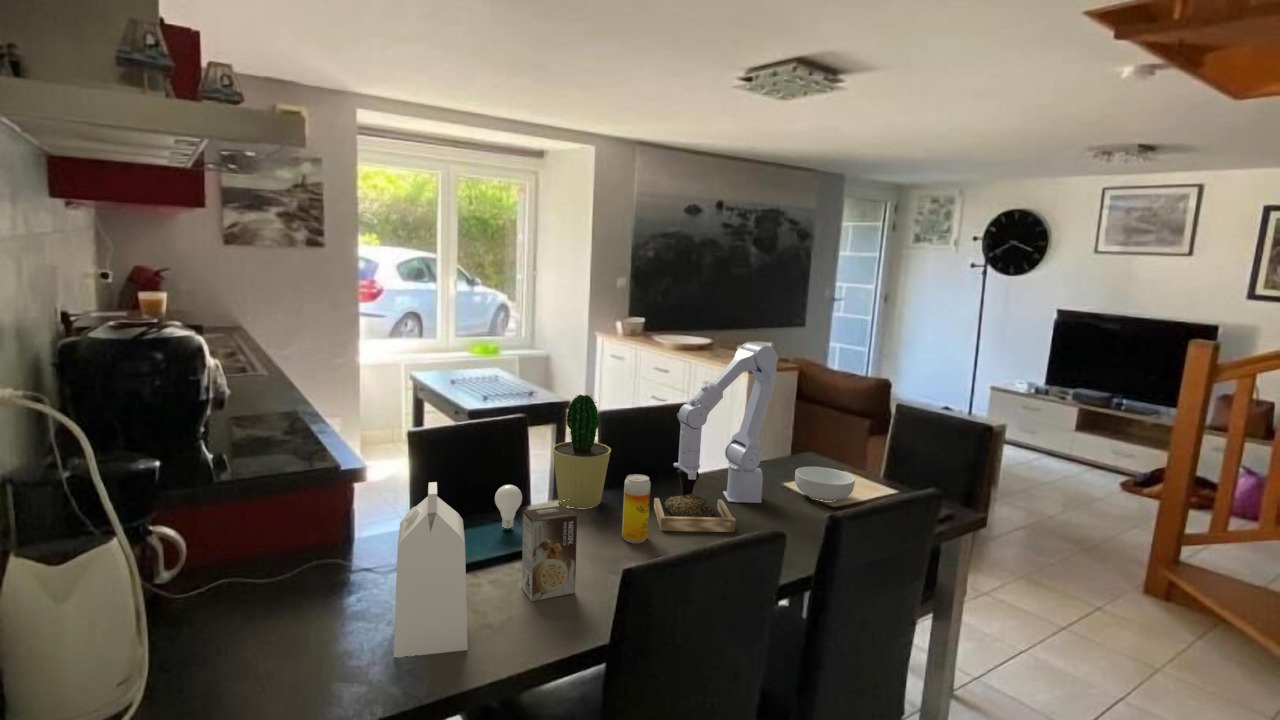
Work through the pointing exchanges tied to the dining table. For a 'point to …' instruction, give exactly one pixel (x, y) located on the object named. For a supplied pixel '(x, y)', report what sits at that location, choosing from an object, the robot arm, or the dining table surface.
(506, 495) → the lightbulb
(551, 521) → the coffee box
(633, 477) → the beer can
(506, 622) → the dining table surface
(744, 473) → the robot arm
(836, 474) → the cereal bowl
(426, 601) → the milk
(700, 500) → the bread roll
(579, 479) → the potted cactus
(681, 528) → the tray
